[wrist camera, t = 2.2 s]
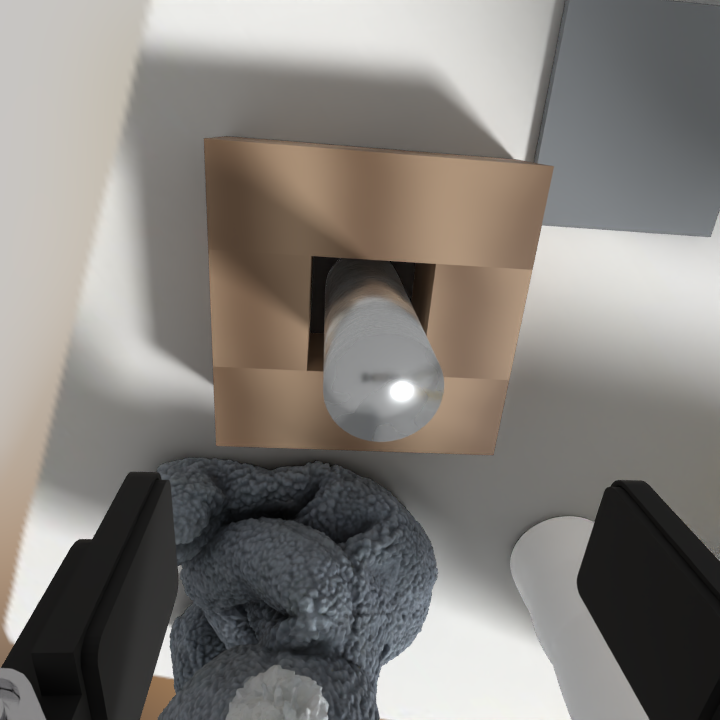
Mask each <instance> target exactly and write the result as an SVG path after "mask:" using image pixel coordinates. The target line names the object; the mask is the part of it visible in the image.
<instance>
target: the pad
mask: <svg viewBox="0 0 720 720" xmlns="http://www.w3.org/2000/svg"><path fill="white" fill-rule="evenodd" d="M534 163H538V164H544V165H550V166H554V169H553V174H552V179H551V184H550V188H549V193H548V198H547V203H546V207H545V212H544V217H543V222H542V225H545V226H559V227H574V228H588V229H602V230H616V231H631V232H645V233H659V234H674V235H688V236H702V237H711V234H712V231H713V228H714V225H715V222H716V219H717V216H718V213H719V211H720V6H718V5H709V4H699V3H690V2H681V1H671V0H566V1H565V6H564V11H563V16H562V21H561V27H560V32H559V37H558V42H557V47H556V52H555V57H554V62H553V68H552V73H551V78H550V83H549V88H548V93H547V98H546V103H545V109H544V114H543V119H542V124H541V129H540V134H539V139H538V144H537V150H536V155H535V160H534Z"/></svg>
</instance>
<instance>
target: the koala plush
mask: <svg viewBox="0 0 720 720" xmlns="http://www.w3.org/2000/svg"><path fill="white" fill-rule="evenodd" d="M157 472H158V473H160V475H161V479H162V480H169V481H170V484H171V495H172V507H173V519H174V531H175V543H176V555H177V566H179V565H182V568H183V569H182V570H181V573H180V579H181V580H183V581H182V584H183V585H184V588H185V593H186V595H187V596H189V597H190V599H191V600H193V604H191V605H190V606H189V607H188V608H187V609H186V610H185V613H184V614H183V615H181V617H177V618H176V619H175V620H174V624H173V625H172V629H171V633H170V649H171V658H172V663H173V667H172V668H173V675H174V689H175V692H176V695H175V696H174V697H173V698H172V700H171V701H170V702H169V704H168V706H167V707H166V708H165V709H164V710H163V712H162V713H161V714H160V715H159V717H158V720H379V719H380V717H379V713H378V708H377V704H376V693H377V680H378V677H379V673H380V670H381V667H382V665H385V663H386V664H387V663H388V661H389V660H392V659H394V658H395V657H396V656H398V655H399V654H400V653H401V652H403V651H404V650H405V649H406V648H407V647H409V646H410V645H411V644H412V641H413V640H414V639H415V638H416V635H417V634H418V633H419V632H421V628H422V625H423V623H424V621H425V619H426V615H427V614H428V610H429V608H428V607H429V606H430V602H431V596H432V589H433V585H434V584H435V581H436V580H437V574H438V569H437V568H436V559H435V555H434V551H433V547H432V546H431V545H432V544H431V541H430V540H429V538H428V536H427V535H426V534H425V531H424V529H423V528H422V527H421V525H420V524H419V523H418V522H417V521H415V519H414V517H413V516H412V515H411V514H410V512H409V511H408V510H406V509H405V507H404V506H403V505H401V503H400V502H398V501H397V498H396V497H395V496H392V493H391V492H390V491H387V490H386V488H383V487H382V486H380V485H379V484H377V483H375V482H374V481H373V480H371V479H369V478H367V477H365V478H362V477H361V476H358V475H357V474H354V473H353V472H352V471H350V470H348V469H343V468H342V466H338V465H333V466H332V467H330V465H329V463H325V464H323V463H322V462H318V461H316V460H315V462H314V463H311V462H308V463H307V464H306V465H305V466H294V467H291V466H286V467H279V468H276V470H275V469H273V470H272V471H271V470H268V469H263V468H261V467H259V466H256V467H254V466H253V465H252V464H251V465H248V464H246V463H243V464H240V463H239V462H237V461H234V462H233V461H232V460H229V459H228V460H227V461H226V460H221V459H219V460H218V459H216V458H212V459H211V460H210V459H206V458H198V459H197V458H194V457H193V458H189V457H188V458H185V459H183V460H176V461H171V462H169V463H165V464H162V465H160V466H159V467H158V468H157Z"/></svg>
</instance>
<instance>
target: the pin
mask: <svg viewBox="0 0 720 720" xmlns="http://www.w3.org/2000/svg"><path fill="white" fill-rule="evenodd" d="M443 393H444V377H443V372H442V369H441V367H440V364H439V362H438V360H437V358H436V356H435V354H434V351H433V349H432V347H431V345H430V343H429V341H428V338H427V336H426V334H425V332H424V330H423V328H422V326H421V323H420V321H419V319H418V317H417V315H416V313H415V311H414V308H413V306H412V304H411V302H410V300H409V298H408V295H407V293H406V291H405V289H404V287H403V285H402V283H401V280H400V278H399V276H398V274H397V272H396V270H395V268H394V267H393V265H392V264H391V263H390V262H389V261H383V260H367V259H351V258H340V259H339V260H338V261H337V262H336V263H335V264H334V265H333V266H332V268H331V269H330V271H329V273H328V276H327V279H326V284H325V323H324V368H323V396H324V402H325V405H326V408H327V410H328V412H329V414H330V416H331V417H332V419H333V420H334V421H335V422H336V423H337V425H338V426H339V427H341V428H342V429H343V430H344V431H346V432H347V433H349V434H351V435H353V436H355V437H357V438H360V439H363V440H368V441H374V442H388V441H394V440H398V439H402V438H405V437H407V436H410V435H412V434H414V433H415V432H417V431H418V430H420V429H421V428H423V427H424V426H425V425H426V424H427V423H428V422H429V421H430V420H431V419H432V418H433V416H434V415H435V413H436V412H437V410H438V408H439V406H440V404H441V401H442V398H443Z"/></svg>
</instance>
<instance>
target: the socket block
mask: <svg viewBox="0 0 720 720" xmlns="http://www.w3.org/2000/svg"><path fill="white" fill-rule="evenodd" d="M204 153H205V179H206V204H207V229H208V254H209V280H210V305H211V330H212V356H213V381H214V406H215V431H216V446H234V447H264V448H293V449H323V450H352V451H382V452H411V453H441V454H470V455H494V450H495V445H496V440H497V436H498V431H499V426H500V421H501V417H502V412H503V407H504V402H505V398H506V393H507V388H508V383H509V379H510V374H511V369H512V364H513V360H514V355H515V350H516V345H517V341H518V336H519V331H520V326H521V322H522V317H523V312H524V307H525V303H526V298H527V293H528V288H529V283H530V279H531V274H532V269H533V264H534V260H535V255H536V250H537V245H538V241H539V236H540V231H541V226H542V222H543V217H544V212H545V207H546V203H547V198H548V193H549V188H550V184H551V179H552V174H553V169H554V166H550V165H544V164H538V163H533V162H527V161H521V160H516V159H505V158H492V157H480V156H467V155H455V154H442V153H430V152H417V151H405V150H392V149H380V148H367V147H355V146H342V145H330V144H317V143H305V142H292V141H280V140H267V139H255V138H242V137H230V136H224V137H214V138H204ZM313 256H320V257H336V258H351V259H367V260H383V261H399V262H415V263H416V265H415V273H414V281H413V290H412V298H411V304H412V306H413V308H414V311H415V313H416V315H417V317H418V319H419V321H420V323H421V326H422V328H423V330H424V332H425V334H426V336H427V338H428V341H429V343H430V345H431V347H432V349H433V351H434V354H435V356H436V358H437V360H438V362H439V364H440V367H441V369H442V372H443V377H444V393H443V398H442V401H441V404H440V406H439V408H438V410H437V412H436V413H435V415H434V416H433V418H432V419H431V420H430V421H429V422H428V423H427V424H426V425H425V426H424V427H423V428H421V429H420V430H418V431H417V432H415V433H414V434H412V435H410V436H407V437H405V438H402V439H398V440H394V441H388V442H374V441H368V440H363V439H360V438H357V437H355V436H353V435H351V434H349V433H347V432H346V431H344V430H343V429H342V428H341V427H339V426H338V425H337V423H336V422H335V421H334V420H333V419H332V417H331V416H330V414H329V412H328V410H327V408H326V405H325V402H324V396H323V368H324V333H310V326H311V302H312V277H313Z"/></svg>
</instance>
